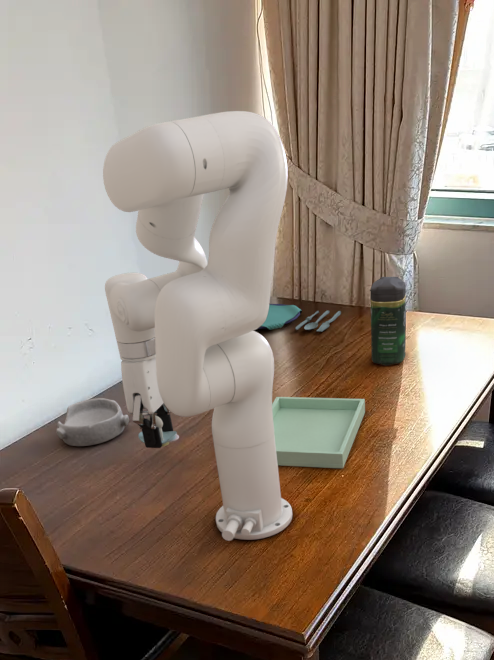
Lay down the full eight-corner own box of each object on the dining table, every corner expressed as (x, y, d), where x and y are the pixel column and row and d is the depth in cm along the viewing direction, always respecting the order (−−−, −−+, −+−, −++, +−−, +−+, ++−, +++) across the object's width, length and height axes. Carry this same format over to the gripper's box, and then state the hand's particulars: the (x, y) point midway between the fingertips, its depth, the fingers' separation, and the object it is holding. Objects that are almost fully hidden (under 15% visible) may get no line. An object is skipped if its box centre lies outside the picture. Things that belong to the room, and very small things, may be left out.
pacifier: (150, 436, 149) (137, 449, 144) (144, 405, 146) (130, 418, 141) (185, 436, 147) (173, 449, 142) (180, 405, 144) (167, 418, 139)
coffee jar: (404, 366, 177) (403, 285, 167) (369, 366, 178) (367, 286, 169) (407, 351, 185) (407, 273, 175) (374, 351, 186) (372, 274, 177)
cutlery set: (249, 308, 224) (248, 300, 222) (346, 314, 212) (345, 306, 210) (215, 331, 209) (214, 323, 208) (316, 339, 197) (316, 331, 195)
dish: (61, 454, 154) (55, 431, 151) (59, 426, 165) (53, 404, 163) (133, 440, 156) (128, 417, 154) (127, 413, 168) (122, 392, 165)
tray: (343, 468, 139) (342, 454, 138) (244, 463, 144) (242, 449, 142) (365, 412, 158) (364, 398, 157) (277, 409, 163) (276, 396, 161)
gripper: (140, 331, 144) (159, 421, 153) (99, 364, 130) (122, 461, 139) (177, 330, 142) (194, 421, 151) (139, 363, 128) (160, 461, 137)
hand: (159, 439), depth 145 cm, fingers closed on pacifier, 4 cm apart
